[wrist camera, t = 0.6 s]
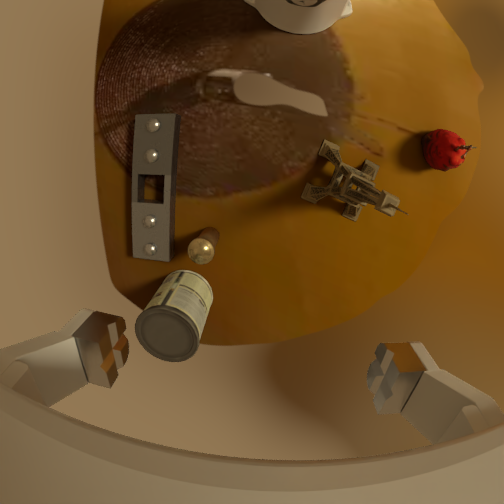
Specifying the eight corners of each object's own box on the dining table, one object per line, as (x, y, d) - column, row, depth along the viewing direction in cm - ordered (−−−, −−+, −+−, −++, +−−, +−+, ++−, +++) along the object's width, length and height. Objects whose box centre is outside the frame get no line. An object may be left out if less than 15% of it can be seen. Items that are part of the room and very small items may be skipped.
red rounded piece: (440, 175, 45) (490, 188, 31) (412, 157, 44) (460, 165, 30) (452, 140, 42) (503, 143, 28) (424, 121, 42) (474, 117, 27)
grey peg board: (142, 116, 44) (134, 114, 41) (180, 115, 44) (174, 113, 40) (139, 251, 52) (131, 258, 49) (174, 255, 52) (168, 263, 49)
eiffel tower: (300, 197, 48) (333, 246, 24) (324, 139, 44) (381, 132, 21) (355, 220, 49) (422, 283, 25) (378, 166, 45) (467, 187, 22)
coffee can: (199, 325, 57) (183, 371, 44) (154, 300, 56) (127, 341, 43) (223, 286, 54) (210, 330, 41) (174, 259, 53) (147, 295, 39)
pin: (199, 223, 50) (187, 237, 43) (222, 225, 50) (214, 240, 43) (198, 245, 52) (187, 262, 44) (220, 247, 51) (213, 265, 44)
